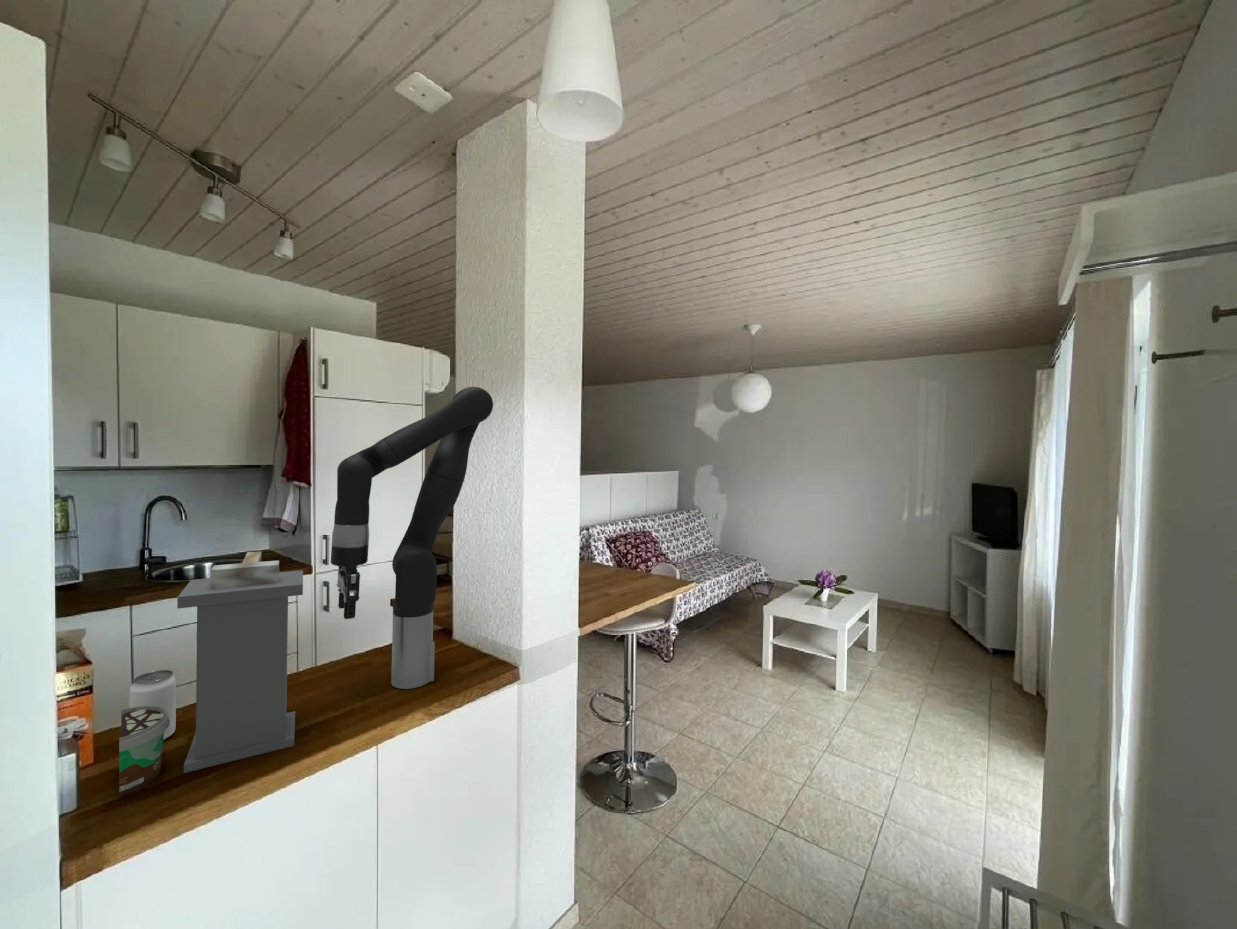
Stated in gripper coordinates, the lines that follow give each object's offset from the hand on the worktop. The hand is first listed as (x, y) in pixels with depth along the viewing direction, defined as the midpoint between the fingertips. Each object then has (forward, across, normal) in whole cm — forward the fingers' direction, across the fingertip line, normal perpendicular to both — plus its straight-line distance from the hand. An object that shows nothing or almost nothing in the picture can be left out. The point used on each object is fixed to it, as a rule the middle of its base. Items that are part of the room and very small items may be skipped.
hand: (346, 612), depth 114 cm
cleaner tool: (-12, -4, +18) cm, 22 cm away
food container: (+20, -13, +31) cm, 39 cm away
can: (+20, 0, +32) cm, 38 cm away
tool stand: (+20, -11, +18) cm, 28 cm away
